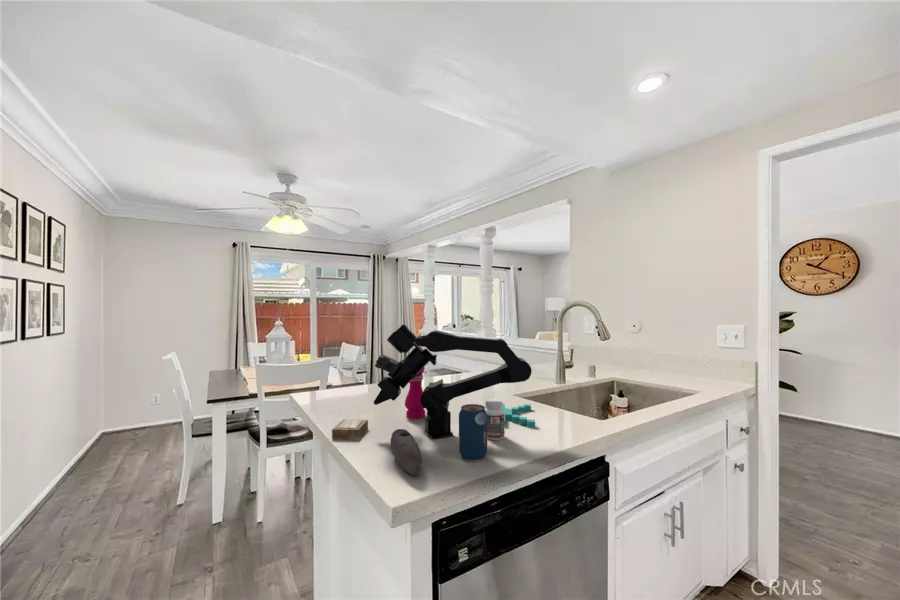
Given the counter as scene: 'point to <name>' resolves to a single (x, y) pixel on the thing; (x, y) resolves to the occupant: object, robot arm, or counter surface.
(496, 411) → the pill bottle
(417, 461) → the perforated stone tool
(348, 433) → the walnut block
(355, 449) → the counter surface
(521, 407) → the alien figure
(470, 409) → the soda can
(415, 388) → the pepper mill
